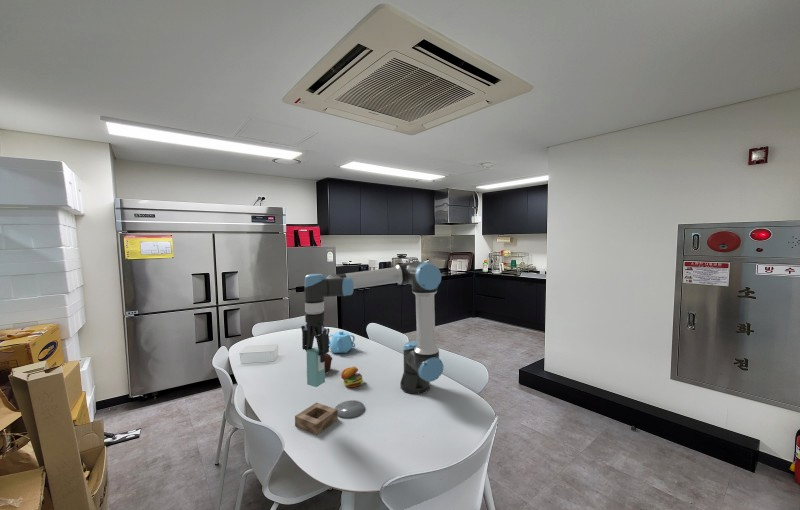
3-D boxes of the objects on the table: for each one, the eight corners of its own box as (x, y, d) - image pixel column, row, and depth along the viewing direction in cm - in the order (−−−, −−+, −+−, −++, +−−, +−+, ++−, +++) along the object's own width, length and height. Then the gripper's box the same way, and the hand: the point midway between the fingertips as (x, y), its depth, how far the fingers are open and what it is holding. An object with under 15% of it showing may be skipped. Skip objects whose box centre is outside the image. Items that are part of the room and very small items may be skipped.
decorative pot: (357, 351, 208) (357, 332, 207) (335, 357, 198) (335, 336, 198) (346, 345, 221) (346, 326, 220) (325, 350, 211) (325, 330, 211)
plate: (370, 406, 138) (370, 404, 138) (352, 421, 126) (352, 419, 126) (347, 399, 144) (347, 397, 144) (328, 413, 133) (328, 411, 133)
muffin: (321, 377, 169) (321, 359, 168) (307, 372, 174) (307, 355, 174) (336, 369, 179) (336, 352, 178) (323, 365, 185) (322, 349, 184)
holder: (337, 418, 128) (337, 409, 128) (316, 434, 118) (316, 424, 118) (316, 411, 134) (316, 402, 134) (295, 425, 124) (294, 416, 124)
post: (325, 382, 126) (324, 348, 126) (316, 387, 122) (315, 352, 121) (316, 379, 129) (315, 346, 128) (307, 384, 124) (306, 350, 124)
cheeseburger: (360, 389, 154) (355, 370, 154) (341, 392, 156) (336, 373, 156) (366, 380, 164) (361, 362, 164) (348, 383, 166) (343, 365, 166)
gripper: (338, 312, 123) (339, 369, 124) (305, 308, 132) (306, 361, 133) (324, 316, 116) (326, 376, 117) (291, 311, 125) (293, 367, 126)
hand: (315, 368), depth 125 cm, fingers closed on post, 5 cm apart
